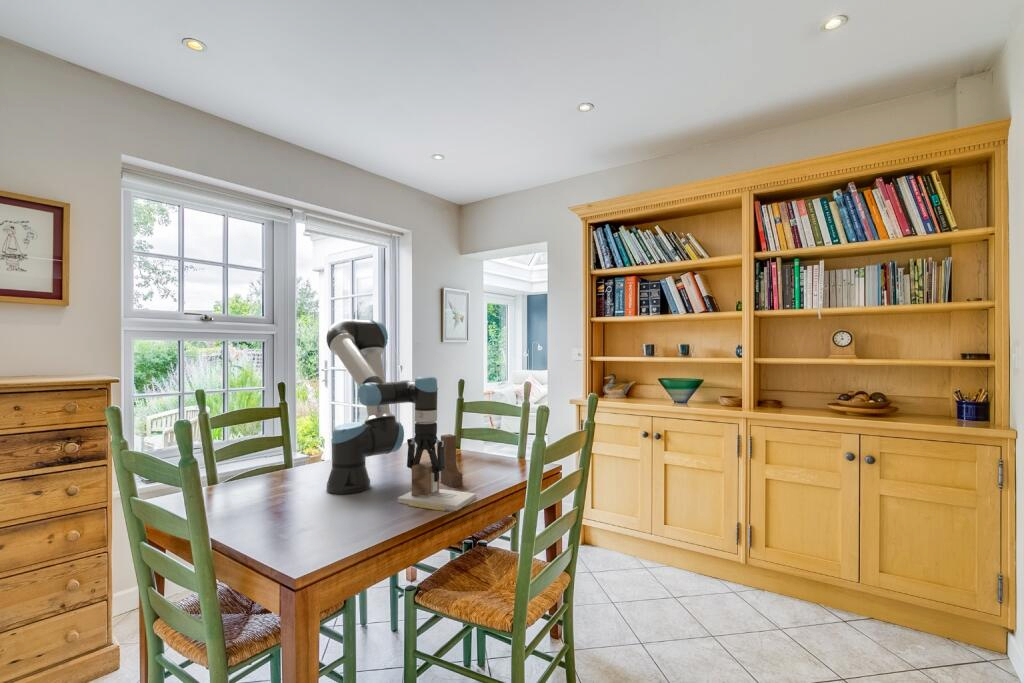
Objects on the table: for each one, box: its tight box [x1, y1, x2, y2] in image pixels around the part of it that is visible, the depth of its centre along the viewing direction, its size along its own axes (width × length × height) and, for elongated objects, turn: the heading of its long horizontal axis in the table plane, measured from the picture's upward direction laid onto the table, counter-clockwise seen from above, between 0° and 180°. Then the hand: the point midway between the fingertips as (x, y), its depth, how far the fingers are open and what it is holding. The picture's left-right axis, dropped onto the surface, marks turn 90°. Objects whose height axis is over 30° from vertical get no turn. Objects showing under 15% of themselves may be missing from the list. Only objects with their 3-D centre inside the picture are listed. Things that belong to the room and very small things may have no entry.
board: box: [397, 488, 477, 512], centre depth 165 cm, size 22×14×2 cm, turn 69°
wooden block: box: [440, 433, 463, 488], centre depth 184 cm, size 9×4×18 cm, turn 38°
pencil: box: [408, 504, 450, 512], centre depth 156 cm, size 14×1×1 cm, turn 69°
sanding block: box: [411, 460, 440, 498], centre depth 167 cm, size 6×8×10 cm
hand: (425, 489), depth 166 cm, fingers closed on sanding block, 6 cm apart
